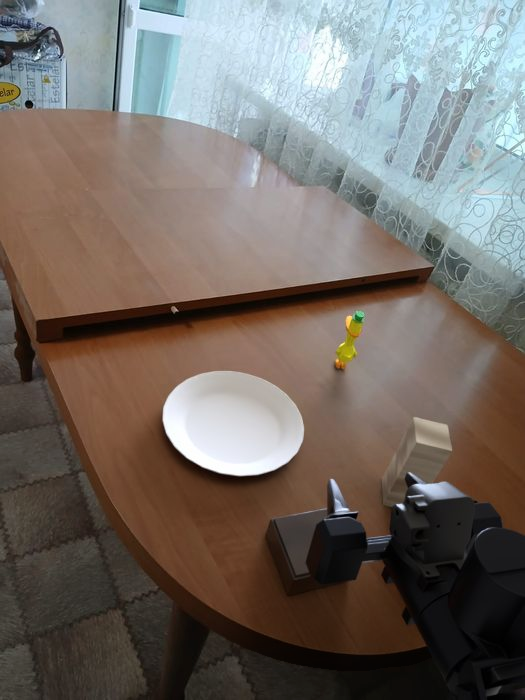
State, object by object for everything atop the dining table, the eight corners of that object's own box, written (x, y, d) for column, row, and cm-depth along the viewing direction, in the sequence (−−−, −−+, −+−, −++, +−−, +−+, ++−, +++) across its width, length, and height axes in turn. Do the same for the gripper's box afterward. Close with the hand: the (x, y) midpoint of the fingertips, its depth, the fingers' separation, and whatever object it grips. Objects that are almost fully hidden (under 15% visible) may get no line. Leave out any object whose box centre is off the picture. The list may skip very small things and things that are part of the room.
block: (415, 512, 75) (452, 451, 67) (382, 505, 75) (416, 442, 67) (412, 486, 79) (447, 424, 71) (381, 479, 79) (413, 416, 71)
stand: (348, 581, 65) (357, 563, 63) (287, 596, 62) (294, 578, 60) (321, 524, 71) (329, 505, 68) (264, 535, 68) (270, 516, 65)
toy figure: (328, 351, 101) (346, 297, 93) (347, 354, 101) (366, 300, 94) (332, 375, 95) (352, 320, 88) (352, 378, 96) (373, 323, 88)
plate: (232, 513, 69) (235, 503, 68) (131, 418, 79) (132, 407, 77) (327, 438, 83) (331, 428, 82) (232, 364, 92) (234, 354, 91)
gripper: (577, 533, 44) (468, 414, 57) (371, 560, 38) (301, 422, 51) (524, 617, 49) (435, 492, 62) (336, 652, 44) (281, 506, 57)
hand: (369, 478), depth 58 cm, fingers open, 9 cm apart
